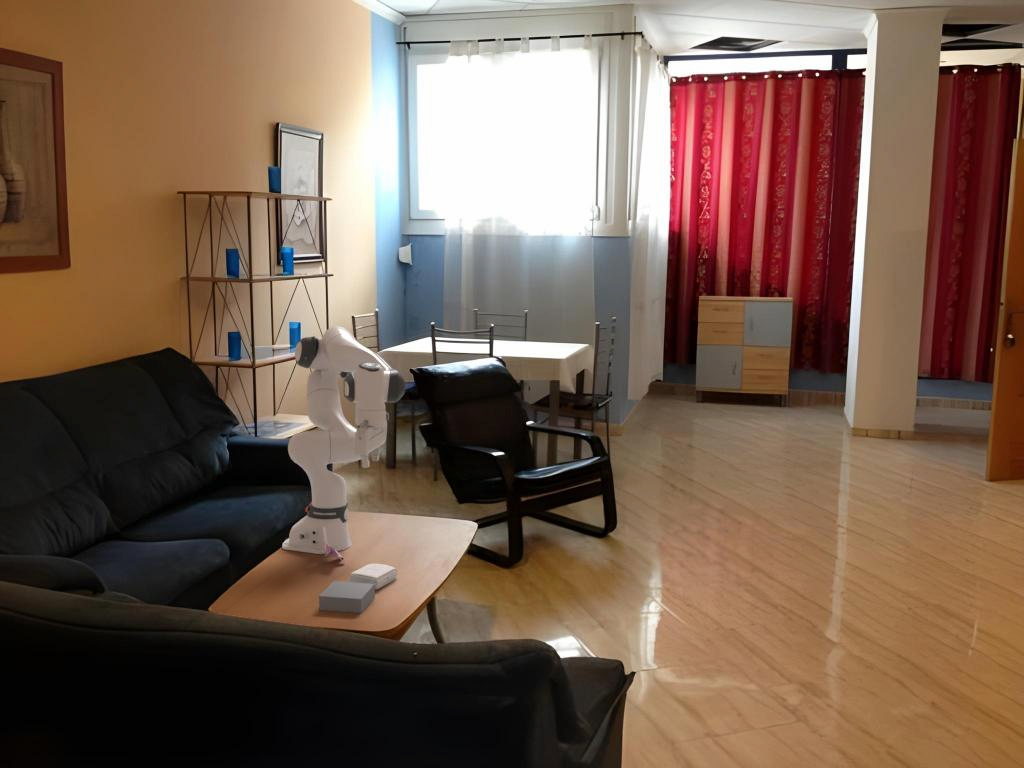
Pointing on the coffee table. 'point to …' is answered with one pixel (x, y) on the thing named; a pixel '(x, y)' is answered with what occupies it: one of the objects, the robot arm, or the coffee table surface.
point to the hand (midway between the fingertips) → (370, 464)
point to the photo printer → (374, 575)
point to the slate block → (347, 597)
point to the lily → (331, 551)
